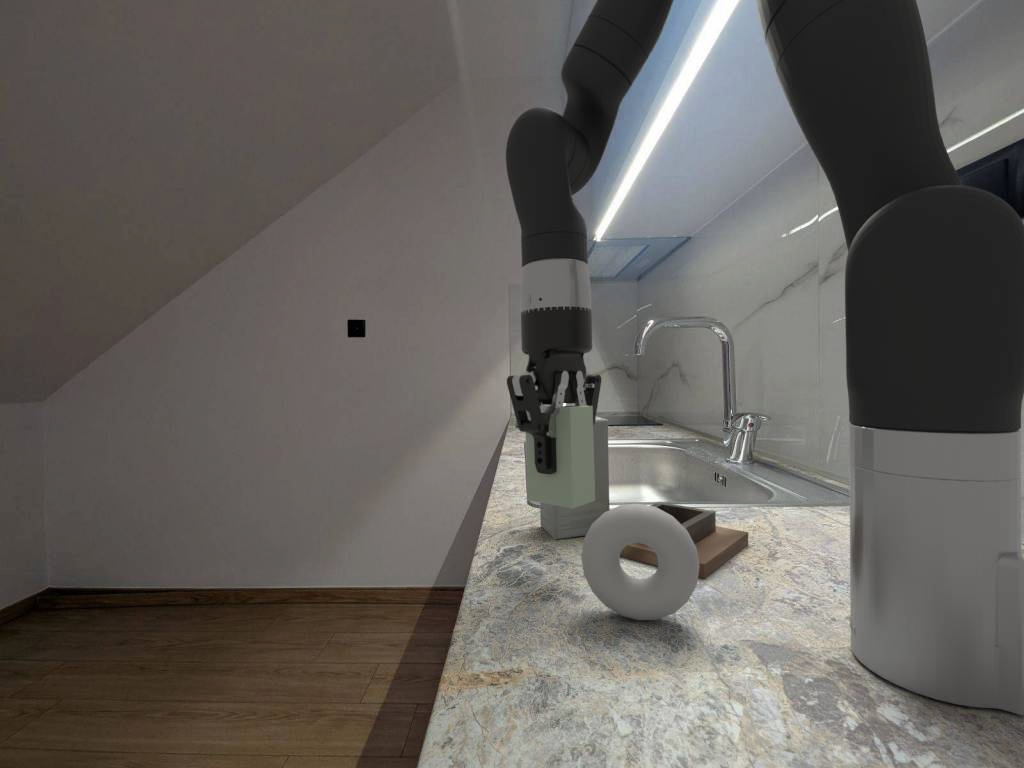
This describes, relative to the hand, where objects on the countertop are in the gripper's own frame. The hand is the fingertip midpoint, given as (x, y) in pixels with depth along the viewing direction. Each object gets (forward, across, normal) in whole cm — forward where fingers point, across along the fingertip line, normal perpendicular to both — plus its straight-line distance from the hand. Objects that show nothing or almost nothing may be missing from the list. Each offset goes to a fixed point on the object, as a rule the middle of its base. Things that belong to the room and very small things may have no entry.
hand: (560, 469), depth 52 cm
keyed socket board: (+11, +16, -5) cm, 20 cm away
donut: (+12, -3, -10) cm, 16 cm away
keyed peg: (+3, 0, 0) cm, 3 cm away
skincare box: (+11, +13, +8) cm, 19 cm away
